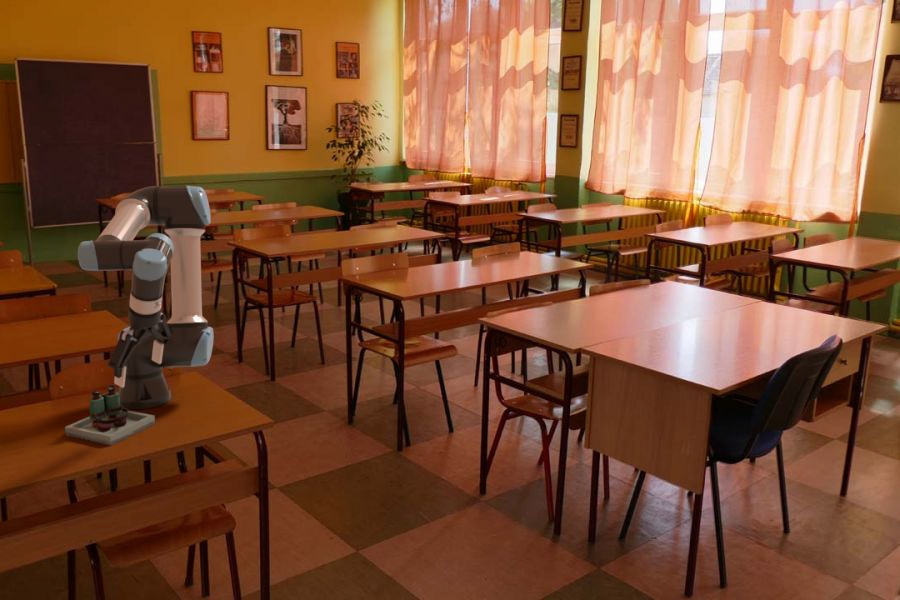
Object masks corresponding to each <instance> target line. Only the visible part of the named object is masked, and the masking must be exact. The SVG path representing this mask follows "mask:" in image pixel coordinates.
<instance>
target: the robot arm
mask: <svg viewBox="0 0 900 600" xmlns="http://www.w3.org/2000/svg"><path fill="white" fill-rule="evenodd" d="M210 208H211V207H210V204H209V199H208V196H207V193H206V191H205V189H204V187H201V186H193V185H172V186H171V185H165V186H163V185H162V186H158V185H155V186H154V185H151V186H146V187H143V188H140V189H137V190H135V191H133V192H131V193H129V194H127V195H126V196H125V197H124V198H122V199H121V200H120V201H119V203H118V204H117V205H116V208H115V211H114V212H115V213H114V216H113V217H112V218H111V220H110V221H109V222H108V224H107V225H106V227H105V228H104V229H103V231H102V232H101V233H100V235H99V236H98V237H97V239H96V240H92V239H91V240H88V241H87V240H86V241H85V240H84V241H82V242H80V244H79V245H78V247H77V248H78V249H77V260H78V264H79V266H80V268H81V269H82V270H84V271H93V272H94V271H95V272H99V271H100V272H103V271H132V278H131V288H130V295H129V307H128V316H127V317H128V321H129V324H130V326H128V327H126V328H124V329H122V330H121V331H120V332H119V333H118V335H117V336H118V337H117V343H116V345H115V348H114V350H113V352H112V354H111V357H110V359H109V361H108V364H107V366H108V367H109V368H111V369H113V370H114V371H113V376H114V379H113V380H114V381H113V383H114V385H115V386H116V385H117V386H118V387H119V388H118V392H117V393H118V394H119V399H120V406H121V408H122V406H123V408H127V410H143V409H144V410H145V409H151V408H155V407H159V406H162V405H164V404H167V403H168V402H169V401H170V400H171V399H172V395H171V394H172V393H171V389H170V387H169V385H168V383H167V381H166V377H165V375H164V373H163V372H164V371H163V368H185V367H187V368H188V367H189V368H190V367H191V368H194V367H203V366H206V365H207V364H208V363H209V361H210V360H211V357H212V353H213V347H214V338H215V337H214V335H215V334H214V329H213V327H211V326H208V320H207V319H206V318H205V317H204V316H203V301H202V300H203V299H202V294H203V293H202V265H201V264H202V262H201V261H202V259H201V258H202V257H201V255H202V254H201V252H202V251H201V236H202V235H203V234H204V233H205V232H206V226H209V225H210V224H211V218H212V217H211V209H210ZM148 226H164V232H165V233H166V234H167V235H166V234H163V233H160V232H158V233H152V234H150V235H148V236H147V237H146V238H144V240H143V239H142V240H141V239H140V240H139V239H138V240H136V239H135V238H136V236H137V235H138V233H139V231H141V230H143V229H144V228H146V227H148ZM134 239H135V240H134ZM169 266H170V267H169ZM169 268H170V279H171V280H170V281H171V282H170V287H171V290H170V291H171V318H170V319H169V320H168V321H166V319H167V314H165V313H163V312H162V305H163V295H164V289H165V280H166V277H167V274H168V271H169V270H168V269H169Z"/></svg>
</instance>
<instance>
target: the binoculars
mask: <svg viewBox="0 0 900 600" xmlns="http://www.w3.org/2000/svg"><path fill="white" fill-rule="evenodd" d="M116 387H117V386H116V384H111V385H109V386H107V391H108V392H106V393H102V395H101V391H100V390H94V389H93V390H91V394H92V397H91V398H90V399H89V413H88V415H89V416H90V419H91V420H93V422H92V426H93V427H96V426H97V427H98V430H100V431H109V430H110V429H111V423H114V425H115V426H116V427H122V426H124V425H126V423H127V421H126V417H127V416H128V411H129V409H127V408H123V406H122V407H121V406H120V399H119V394H118V393H119V392H117V391H116V389H117V388H116ZM121 409H122V411H123V412H127V413H126V414H125V415H124V416H119V417H118V416H117V414H119V413H120V412H122V411H121ZM123 412H122V413H123ZM105 414H106V415H108V416H109V417H108V420H101V419H102V418H104V417H105ZM89 416H88V417H89Z"/></svg>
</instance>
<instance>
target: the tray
mask: <svg viewBox="0 0 900 600" xmlns="http://www.w3.org/2000/svg"><path fill="white" fill-rule="evenodd" d="M121 411H122V408H121ZM122 412H123V411H122ZM122 412H120V413H119V414H117V416H118V417H119V416H124V415H125V414H126V413H127V412H123V413H122ZM155 416H156V415H153V414H148V413H144V412H138V411H133V410H128V416H127V417H126V421H127V423H126V425H124V426H122V427H116V426H115V425H114V423H111V429H110V430H109V431H100V430H98V427H97V426H96V427H93V426H92V422H93V420H91V419H90V416H87V417H85V418H82V419H80V420H78V421H76V422H73V423H70V424H68V425H66V426H65V427H64V432H65V436H66V435H67V436H66V437H69V436H71V437H70V438H74V437H76V438H75V439H78V438H81V439H80V440H83V439H85V440H84V441H88V440H89V441H88V442H93V443H98V444H103V445H107V446H113V445H115V444H117V443H119V442H122V441H123V440H125V439H127V438H130V437H132V436H134V435H135V434H137V433H139V432H142V431H143V430H145V429H146V430H147V428H150V427H152V426H154V425H156V418H155ZM108 417H109V416H108V415H106V414H105V417H104V418H102V419H101V420H108Z"/></svg>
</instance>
